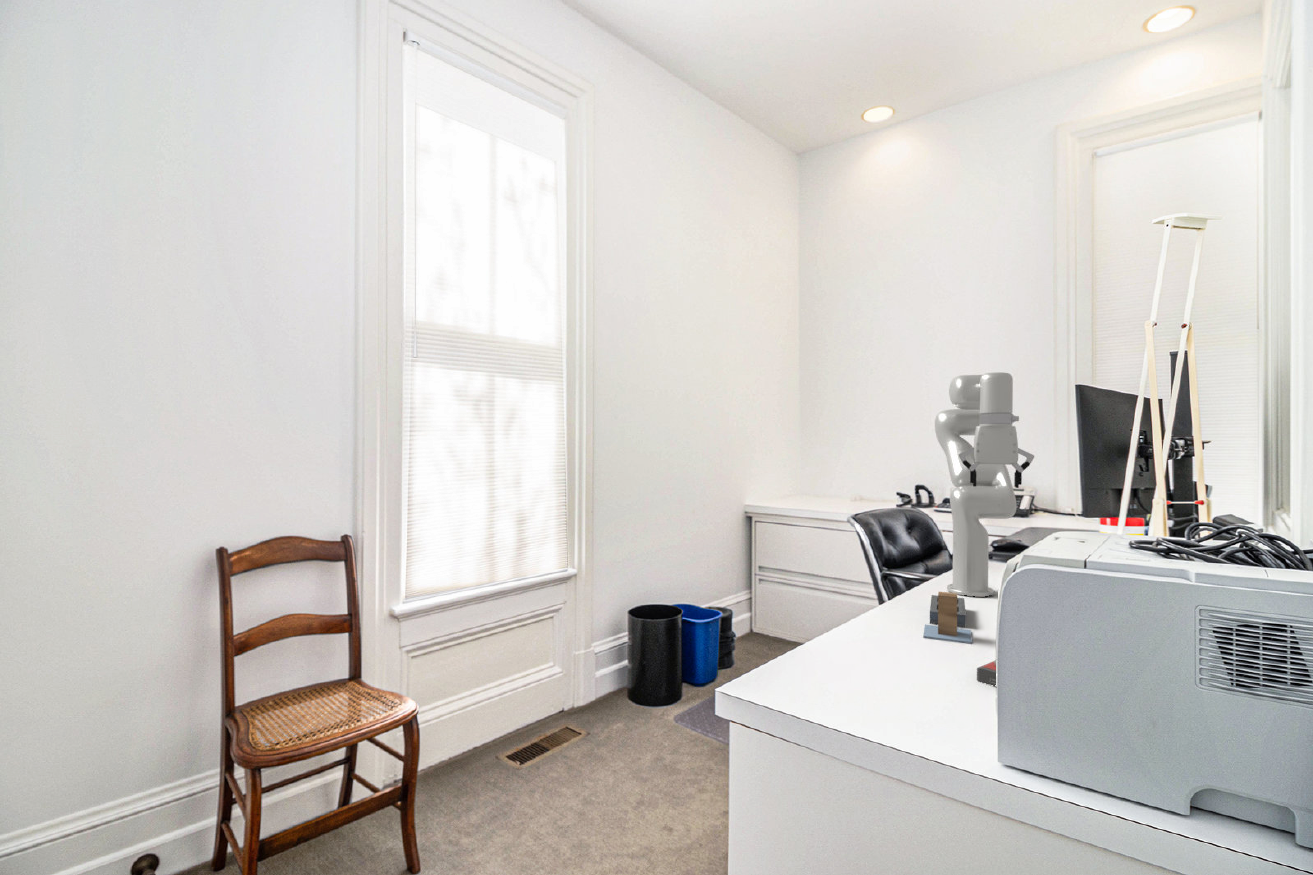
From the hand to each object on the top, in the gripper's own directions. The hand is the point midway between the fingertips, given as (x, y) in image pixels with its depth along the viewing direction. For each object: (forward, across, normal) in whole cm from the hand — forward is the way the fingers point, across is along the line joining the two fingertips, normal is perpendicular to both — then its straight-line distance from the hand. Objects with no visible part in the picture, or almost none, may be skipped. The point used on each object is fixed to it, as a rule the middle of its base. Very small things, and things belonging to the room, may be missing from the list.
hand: (995, 486), depth 167 cm
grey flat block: (+33, +11, +6) cm, 36 cm away
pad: (+33, +11, +23) cm, 42 cm away
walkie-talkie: (+34, -2, +46) cm, 57 cm away
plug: (+33, +11, +23) cm, 42 cm away
